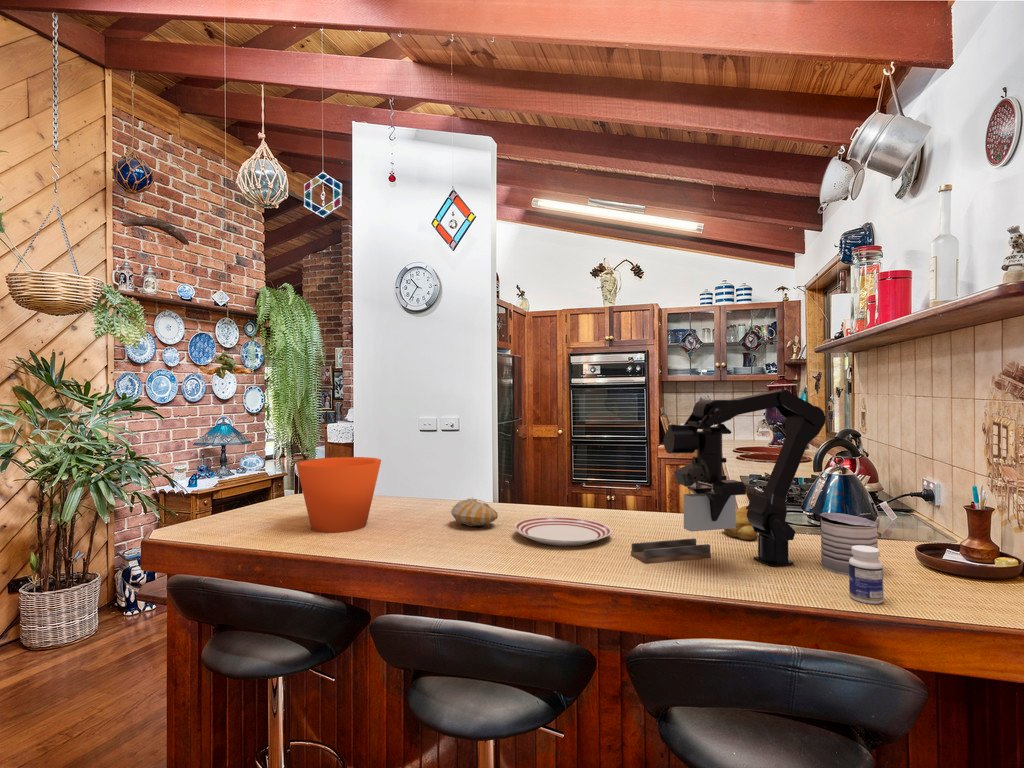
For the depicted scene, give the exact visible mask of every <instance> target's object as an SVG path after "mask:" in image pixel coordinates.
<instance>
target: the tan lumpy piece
mask: <svg viewBox="0 0 1024 768" xmlns="http://www.w3.org/2000/svg"><path fill="white" fill-rule="evenodd" d="M747 506H748V505H745V506H741V507H740V508H738V509H737V510H736V528H732V529H723V531H725V532H726V533H727V535H729V536H731V537H734V538H739V539H740V540H749V541H750V540H755V539H756V538H757V536H758V535H759V533H756V532H754V530H753V527H752V525H751V524H750V523H749V521H748V518H747V511H748V510H747V509H746V507H747Z"/></svg>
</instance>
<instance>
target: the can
mask: <svg viewBox="0 0 1024 768" xmlns="http://www.w3.org/2000/svg"><path fill="white" fill-rule="evenodd" d="M818 516H821V517H820V546H821V547H820V550H821V551H820V554H821V556H820V558H821V561H820V562H821V563H820V564H821V567H822V568H823V569H824V570H827V571H829V572H832V573H835V574H837V575H838V574H839V575H843V576H844V575H845V576H849V559H850V558H851V557H853V554H852V553H851V548H852V546H856V545H864V546H871V547H875V548H877V549H879V548H878V547H879V546H878V545H879V544H878V543H879V542H878V541H879V540H878V524H879V523H878V522H876V521H873V520H871V519H868V518H865V517H861V516H857V515H851V514H846V513H838V512H837V513H836V512H822V513H820V514H818Z"/></svg>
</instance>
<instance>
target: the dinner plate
mask: <svg viewBox="0 0 1024 768" xmlns="http://www.w3.org/2000/svg"><path fill="white" fill-rule="evenodd" d="M513 529H514V530H515V531H516V533H518V534H520V535H521V536H523V537H525V538H527V539H530V540H533V541H535V542H537V543H541V544H545V545H549V546H557V547H558V546H559V547H574V546H583V545H588V544H591V543H594V542H597V541H600V540H601V539H604V538H607V537H609V536H611V534H612V532H613V530H612V528H611V527H610V526H608V525H606V524H604V523H602V522H598V521H595V520H592V519H587V518H579V517H570V516H569V517H568V516H538V517H531V518H525V519H522V520H519V521H517V522H516V523H515V524H514V525H513Z"/></svg>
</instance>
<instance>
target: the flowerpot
mask: <svg viewBox="0 0 1024 768" xmlns="http://www.w3.org/2000/svg"><path fill="white" fill-rule="evenodd" d="M381 463H382V459H381V458H376V457H364V456H342V457H341V456H336V457H335V456H334V457H321V458H310V459H305V460H300V461H297V462H295V464H296V465H295V466H296V469H297V475H298V479H299V481H300V487H301V490H302V494H303V498H304V503H305V507H306V511H307V515H308V519H309V523H310V524H309V525H310V528H311V530H312V531H314V532H316V533H324V534H336V533H348V532H353V531H359V530H362V529H363V528H365V527H366V526H367V524H368V520H369V515H370V510H371V506H372V503H373V499H374V498H373V497H374V494H375V493H374V492H375V490H376V489H375V488H376V485H377V481H378V477H379V476H378V475H379V472H380V467H381V465H382V464H381Z"/></svg>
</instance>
